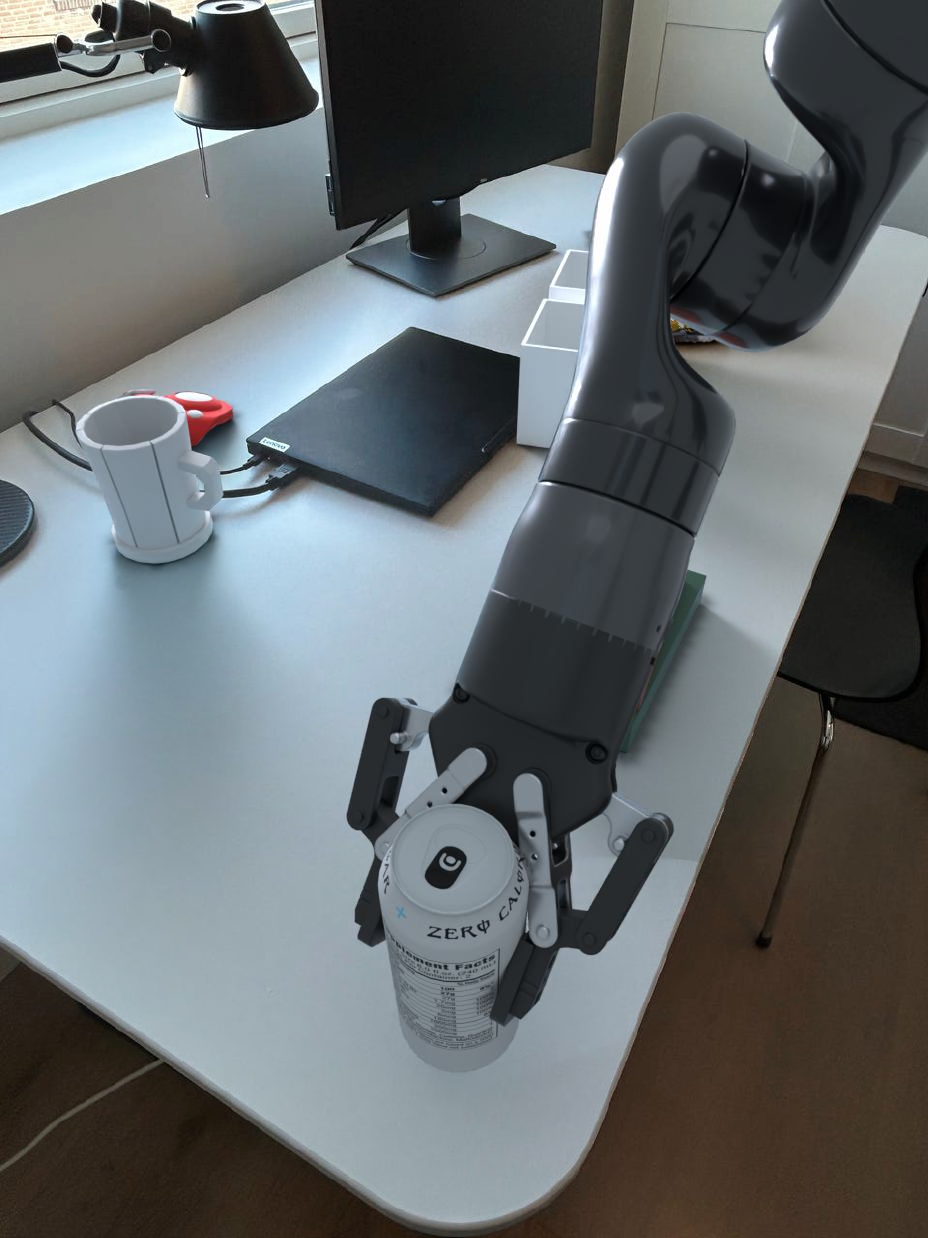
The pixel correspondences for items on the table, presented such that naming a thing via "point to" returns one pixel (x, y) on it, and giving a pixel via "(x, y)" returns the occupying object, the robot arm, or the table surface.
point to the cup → (150, 477)
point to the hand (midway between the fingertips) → (436, 976)
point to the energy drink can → (452, 932)
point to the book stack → (668, 648)
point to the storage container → (551, 353)
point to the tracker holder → (196, 411)
